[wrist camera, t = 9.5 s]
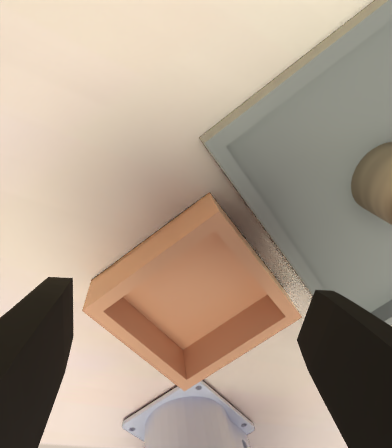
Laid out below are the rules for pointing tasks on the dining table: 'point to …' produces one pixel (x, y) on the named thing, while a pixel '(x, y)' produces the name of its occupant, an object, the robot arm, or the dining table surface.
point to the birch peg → (375, 182)
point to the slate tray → (320, 159)
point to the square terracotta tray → (191, 296)
